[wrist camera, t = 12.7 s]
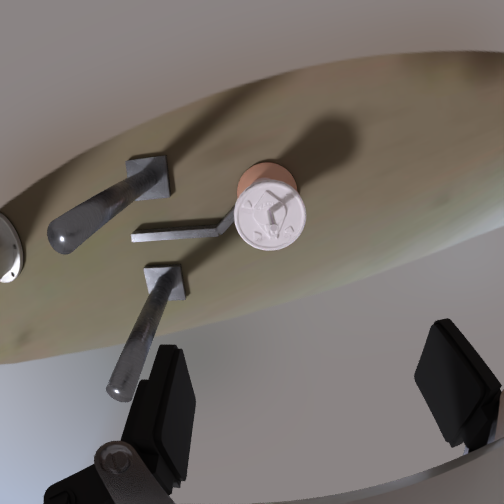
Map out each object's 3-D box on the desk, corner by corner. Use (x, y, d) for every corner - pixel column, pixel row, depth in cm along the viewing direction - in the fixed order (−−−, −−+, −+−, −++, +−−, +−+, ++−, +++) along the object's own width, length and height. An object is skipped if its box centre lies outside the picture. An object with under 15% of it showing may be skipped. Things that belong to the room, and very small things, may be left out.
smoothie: (287, 162, 34) (312, 186, 21) (295, 214, 37) (321, 266, 24) (231, 171, 35) (223, 201, 22) (242, 223, 37) (240, 280, 24)
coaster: (239, 221, 38) (239, 222, 37) (235, 163, 35) (235, 164, 34) (296, 218, 38) (297, 219, 37) (295, 161, 35) (296, 161, 34)
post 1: (133, 199, 36) (44, 273, 18) (127, 160, 34) (26, 204, 16) (171, 195, 36) (102, 271, 18) (166, 155, 34) (85, 193, 16)
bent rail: (136, 237, 38) (132, 242, 37) (131, 213, 37) (127, 216, 35) (242, 230, 38) (242, 234, 37) (241, 204, 37) (240, 207, 35)
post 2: (152, 297, 42) (104, 408, 23) (145, 265, 40) (84, 370, 21) (186, 296, 42) (153, 413, 23) (180, 264, 40) (137, 375, 21)
